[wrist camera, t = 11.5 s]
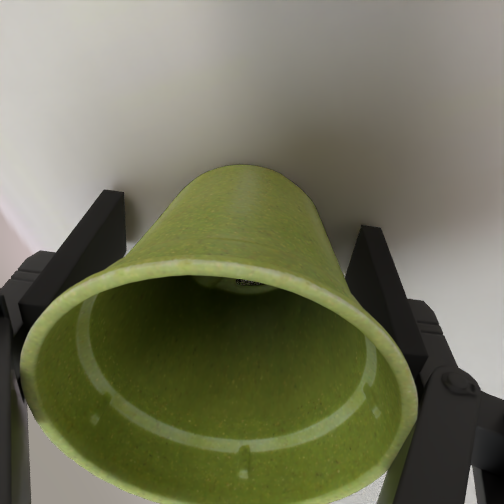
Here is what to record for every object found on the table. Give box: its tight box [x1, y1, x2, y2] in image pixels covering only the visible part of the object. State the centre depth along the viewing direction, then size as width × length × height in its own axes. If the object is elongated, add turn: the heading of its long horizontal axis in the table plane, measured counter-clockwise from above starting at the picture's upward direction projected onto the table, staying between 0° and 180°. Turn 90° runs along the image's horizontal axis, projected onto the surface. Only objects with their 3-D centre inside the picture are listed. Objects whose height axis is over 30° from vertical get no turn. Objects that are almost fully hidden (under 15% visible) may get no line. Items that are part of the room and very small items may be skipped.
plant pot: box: [20, 164, 418, 504], centre depth 14 cm, size 9×9×9 cm
